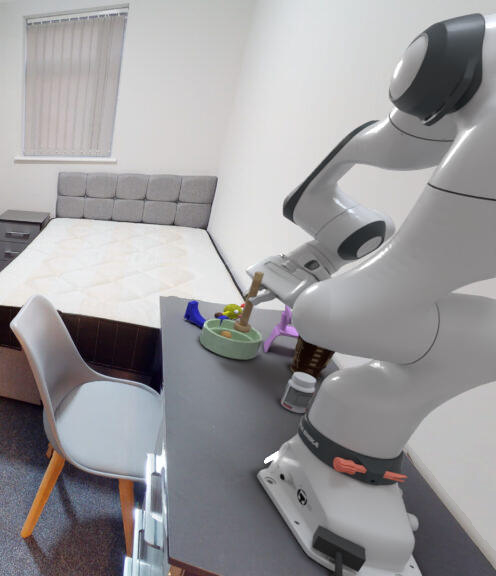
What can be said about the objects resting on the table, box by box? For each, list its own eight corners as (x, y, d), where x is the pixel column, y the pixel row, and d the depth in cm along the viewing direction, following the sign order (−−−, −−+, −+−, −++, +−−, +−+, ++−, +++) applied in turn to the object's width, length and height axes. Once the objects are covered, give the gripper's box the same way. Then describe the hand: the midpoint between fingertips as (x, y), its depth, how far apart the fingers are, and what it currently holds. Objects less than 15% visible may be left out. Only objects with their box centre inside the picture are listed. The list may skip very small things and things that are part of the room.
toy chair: (303, 363, 103) (323, 315, 98) (265, 353, 108) (282, 307, 102) (298, 350, 110) (317, 304, 104) (263, 341, 114) (278, 297, 108)
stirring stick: (251, 334, 93) (271, 276, 87) (234, 331, 94) (253, 274, 88) (247, 327, 96) (265, 271, 90) (231, 325, 97) (248, 269, 91)
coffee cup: (311, 364, 103) (328, 323, 98) (334, 382, 95) (354, 339, 90) (278, 362, 104) (293, 321, 99) (298, 380, 96) (316, 336, 91)
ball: (231, 343, 112) (234, 334, 110) (220, 341, 113) (222, 333, 111) (228, 338, 114) (231, 330, 113) (217, 337, 115) (220, 328, 114)
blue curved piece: (225, 332, 118) (231, 316, 116) (216, 335, 117) (222, 319, 114) (192, 314, 128) (197, 299, 125) (183, 317, 126) (188, 302, 124)
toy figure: (222, 332, 119) (228, 313, 117) (205, 324, 124) (210, 306, 121) (252, 320, 128) (258, 302, 125) (236, 314, 132) (241, 296, 129)
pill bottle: (310, 415, 84) (323, 384, 81) (286, 412, 85) (299, 381, 81) (298, 401, 88) (310, 372, 85) (276, 398, 89) (287, 369, 86)
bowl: (263, 365, 102) (270, 346, 100) (204, 355, 106) (209, 337, 104) (247, 340, 115) (253, 323, 113) (195, 332, 119) (200, 315, 117)
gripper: (274, 244, 95) (223, 276, 101) (327, 270, 77) (261, 308, 82) (287, 261, 97) (236, 292, 102) (343, 292, 78) (277, 328, 83)
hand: (247, 300), depth 92 cm, fingers closed on stirring stick, 2 cm apart
